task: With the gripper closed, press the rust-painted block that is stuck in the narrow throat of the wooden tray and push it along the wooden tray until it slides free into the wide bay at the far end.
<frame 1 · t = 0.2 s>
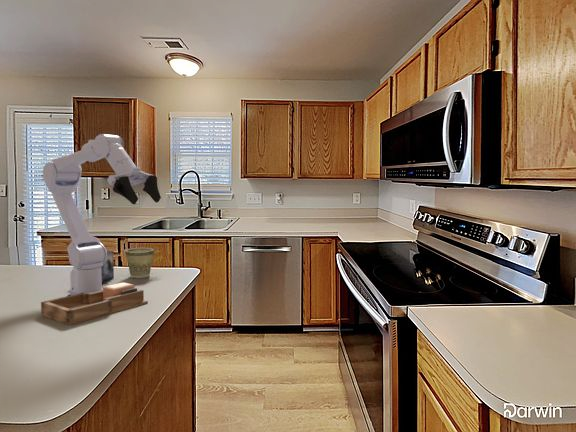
hand: (147, 200, 121), 31 cm above the countertop, tool tilted 45°, fingers open, 7 cm apart
small box: (98, 282, 157), on the countertop
wooden tray: (97, 308, 125), on the countertop
block: (118, 293, 130), point 3 cm above the countertop, slide at 0.0 cm
ceramic cup: (144, 276, 166), on the countertop
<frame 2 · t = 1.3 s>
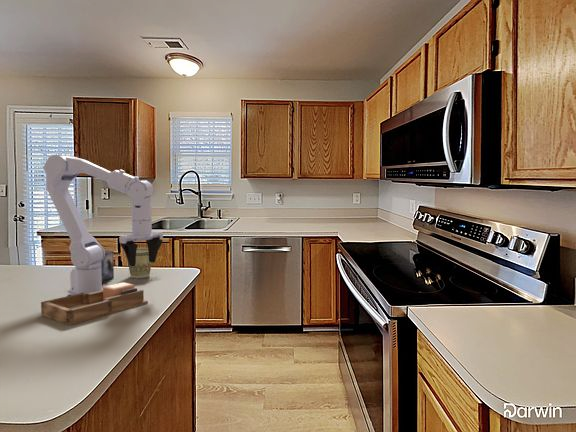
hand: (142, 263, 137), 10 cm above the countertop, tool pointing down, fingers open, 7 cm apart
nothing on the countertop moved.
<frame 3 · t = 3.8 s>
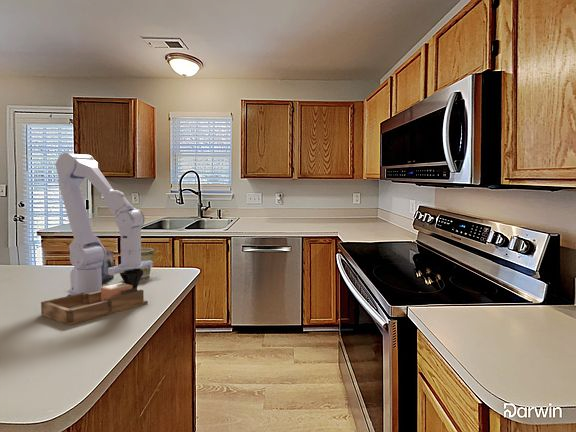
hand: (131, 294, 134), 2 cm above the countertop, tool pointing down, fingers closed
block: (116, 293, 130), point 3 cm above the countertop, slide at 0.7 cm, touching gripper
everything else where it was.
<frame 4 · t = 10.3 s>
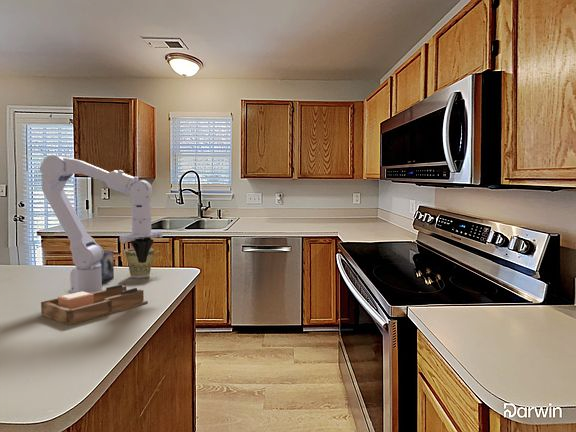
hand: (142, 262, 139), 10 cm above the countertop, tool pointing down, fingers closed
block: (76, 303, 119), point 3 cm above the countertop, slide at 13.1 cm
everything else where it was.
at the end: block slide at 13.1 cm; block inside the target area on the wooden tray (0.4 cm from its centre), point 3.1 cm above the wooden tray's base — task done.
